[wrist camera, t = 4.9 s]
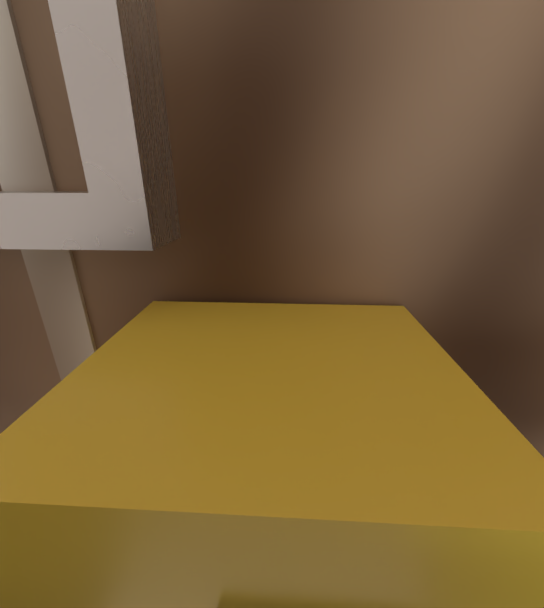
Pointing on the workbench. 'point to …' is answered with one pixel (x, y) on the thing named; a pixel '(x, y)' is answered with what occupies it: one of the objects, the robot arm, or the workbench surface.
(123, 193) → the frame
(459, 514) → the block
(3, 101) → the plywood board
